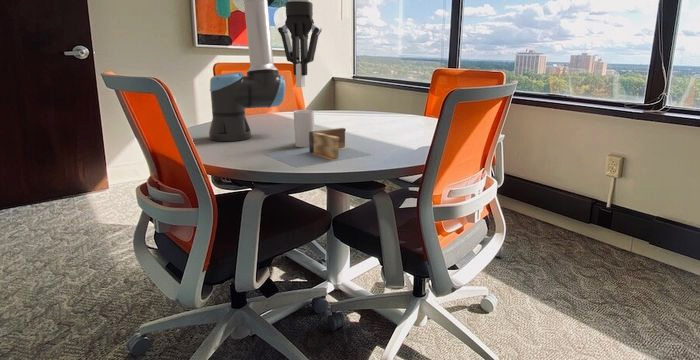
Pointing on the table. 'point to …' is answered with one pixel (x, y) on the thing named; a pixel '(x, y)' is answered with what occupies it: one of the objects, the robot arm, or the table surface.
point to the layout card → (312, 156)
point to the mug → (303, 126)
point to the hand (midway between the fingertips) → (300, 86)
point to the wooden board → (326, 144)
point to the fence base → (334, 132)
